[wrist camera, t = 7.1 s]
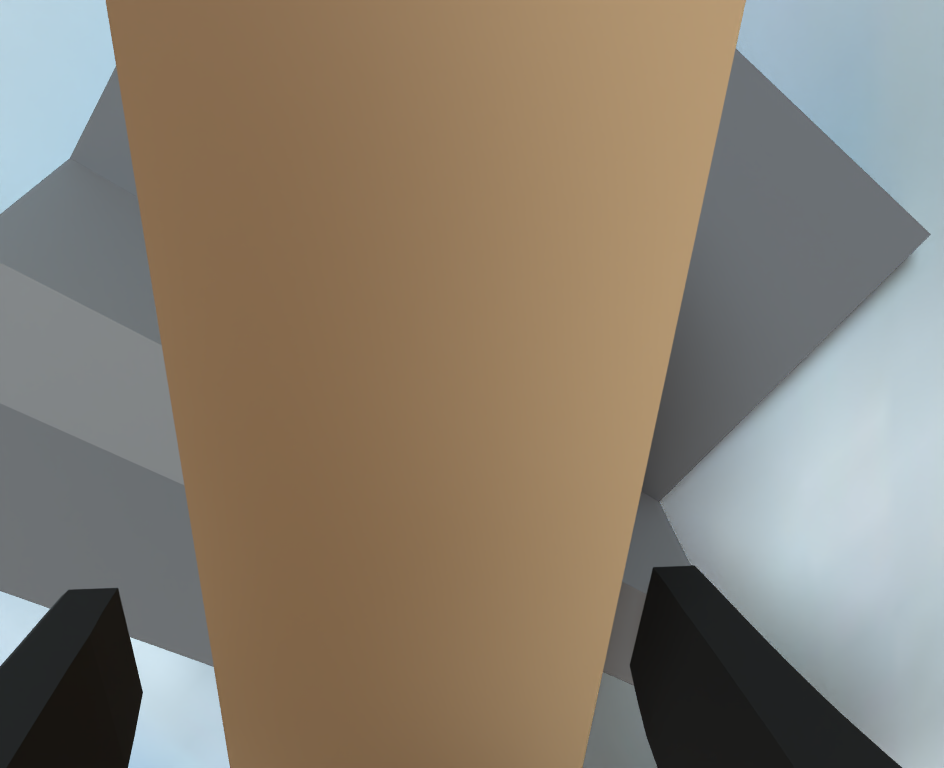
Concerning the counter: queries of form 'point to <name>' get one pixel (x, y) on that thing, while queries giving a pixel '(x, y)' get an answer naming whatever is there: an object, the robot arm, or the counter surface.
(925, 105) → the counter surface
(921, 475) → the counter surface
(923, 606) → the counter surface
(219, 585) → the wooden block
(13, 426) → the stand
